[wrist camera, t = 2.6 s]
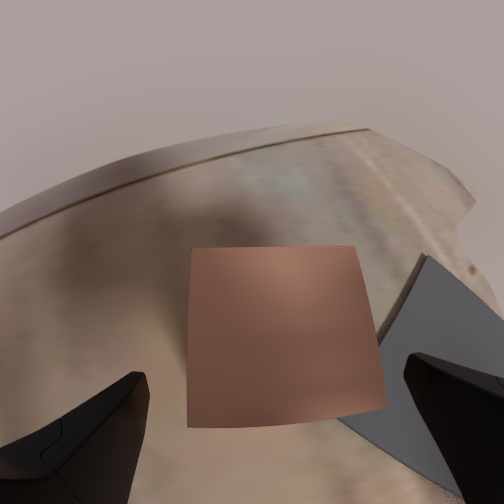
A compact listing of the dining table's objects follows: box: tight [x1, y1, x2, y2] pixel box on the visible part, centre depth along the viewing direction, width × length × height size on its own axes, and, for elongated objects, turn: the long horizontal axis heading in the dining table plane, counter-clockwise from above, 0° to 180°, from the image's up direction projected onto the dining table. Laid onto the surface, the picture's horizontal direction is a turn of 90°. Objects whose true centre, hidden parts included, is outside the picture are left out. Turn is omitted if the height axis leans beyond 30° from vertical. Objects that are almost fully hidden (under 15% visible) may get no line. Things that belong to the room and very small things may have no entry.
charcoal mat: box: [337, 255, 504, 498], centre depth 17 cm, size 16×16×1 cm
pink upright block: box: [187, 246, 388, 428], centre depth 13 cm, size 6×6×10 cm
